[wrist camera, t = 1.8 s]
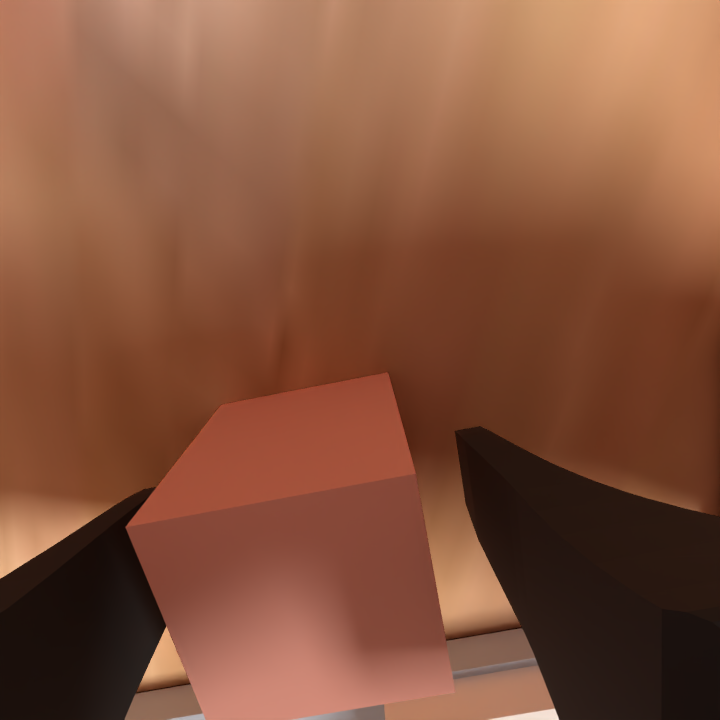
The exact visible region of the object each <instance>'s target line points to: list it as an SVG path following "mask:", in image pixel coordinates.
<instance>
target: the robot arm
mask: <svg viewBox="0 0 720 720" xmlns="http://www.w3.org/2000/svg"><path fill="white" fill-rule="evenodd" d="M455 434H456V441H457V448H458V454H459V461H460V468H461V475H462V482H463V488H464V495H465V502H466V506H467V508H468V511H469V514H470V517H471V520H472V523H473V526H474V529H475V531H476V534H477V537H478V540H479V542H480V544H481V546H482V548H483V550H484V552H485V554H486V556H487V558H488V560H489V562H490V564H491V566H492V568H493V570H494V572H495V574H496V576H497V578H498V580H499V582H500V584H501V586H502V589H503V591H504V593H505V595H506V597H507V599H508V601H509V603H510V605H511V607H512V609H513V611H514V613H515V615H516V617H517V619H518V621H519V623H520V625H521V627H522V629H523V631H524V633H525V635H526V638H527V640H528V642H529V644H530V647H531V649H532V651H533V653H534V656H535V659H536V661H537V664H538V666H539V669H540V671H541V674H542V677H543V679H544V682H545V684H546V687H547V689H548V692H549V694H550V697H551V700H552V702H553V705H554V707H555V710H556V713H557V715H558V718H559V720H720V517H719V516H714V515H710V514H705V513H701V512H696V511H692V510H688V509H684V508H680V507H677V506H673V505H669V504H665V503H662V502H658V501H654V500H650V499H647V498H643V497H640V496H637V495H633V494H630V493H627V492H624V491H621V490H618V489H615V488H613V487H610V486H607V485H604V484H601V483H598V482H595V481H593V480H590V479H587V478H585V477H582V476H580V475H577V474H575V473H573V472H570V471H568V470H566V469H564V468H561V467H559V466H557V465H554V464H552V463H550V462H548V461H546V460H544V459H542V458H540V457H538V456H536V455H534V454H532V453H530V452H528V451H526V450H524V449H522V448H520V447H518V446H516V445H514V444H513V443H511V442H509V441H507V440H505V439H503V438H502V437H500V436H498V435H496V434H494V433H493V432H491V431H489V430H487V429H485V428H483V427H481V426H479V427H474V428H468V429H463V430H458V431H455ZM155 489H156V487H154V488H149V489H144V490H142V491H140V492H138V493H136V494H134V495H132V496H130V497H128V498H127V499H125V500H123V501H122V502H120V503H118V504H117V505H115V506H113V507H112V508H110V509H109V510H107V511H106V512H104V513H103V514H101V515H99V516H98V517H96V518H95V519H93V520H92V521H90V522H89V523H87V524H86V525H84V526H83V527H81V528H80V529H78V530H77V531H75V532H74V533H72V534H71V535H69V536H67V537H66V538H64V539H63V540H61V541H60V542H58V543H57V544H55V545H54V546H52V547H50V548H49V549H47V550H46V551H44V552H43V553H41V554H39V555H38V556H36V557H35V558H33V559H31V560H30V561H28V562H27V563H25V564H23V565H22V566H20V567H19V568H17V569H15V570H14V571H12V572H11V573H9V574H7V575H6V576H4V577H3V578H1V579H0V720H125V717H126V715H127V712H128V710H129V708H130V705H131V703H132V700H133V698H134V695H135V693H136V691H137V689H138V687H139V684H140V682H141V680H142V678H143V676H144V674H145V671H146V669H147V667H148V665H149V663H150V660H151V658H152V656H153V654H154V652H155V649H156V647H157V645H158V643H159V641H160V639H161V636H162V634H163V632H164V630H165V628H166V623H165V621H164V619H163V616H162V614H161V611H160V609H159V607H158V604H157V602H156V599H155V597H154V595H153V592H152V590H151V587H150V585H149V583H148V580H147V578H146V575H145V573H144V571H143V568H142V566H141V563H140V561H139V559H138V556H137V554H136V551H135V549H134V547H133V544H132V542H131V539H130V537H129V535H128V532H127V530H126V526H127V525H128V523H129V522H130V521H131V519H132V518H133V517H134V516H135V514H136V513H137V512H138V510H139V509H140V508H141V507H142V505H143V504H144V503H145V501H146V500H147V499H148V498H149V496H150V495H151V494H152V493H153V491H154V490H155Z"/></svg>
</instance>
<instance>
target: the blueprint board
mask: <svg viewBox="0 0 720 720" xmlns="http://www.w3.org/2000/svg"><path fill="white" fill-rule="evenodd" d="M446 643H447V648H448V654H449V659H450V665H451V670H452V676H453V681H454V687H455V693H449V694H443V695H437V696H431V697H425V698H419V699H413V700H407V701H401V702H395V703H389V704H383V705H377V706H370V707H364V708H358V709H352V710H346V711H340V712H334V713H328V714H322V715H316V716H310V717H304V718H298V719H292V720H559V718H558V715H557V713H556V710H555V707H554V705H553V702H552V700H551V697H550V694H549V692H548V689H547V687H546V684H545V682H544V679H543V677H542V674H541V671H540V669H539V666H538V664H537V661H536V659H535V656H534V653H533V651H532V649H531V647H530V644H529V642H528V640H527V638H526V635H525V633H524V631H523V629H522V628H519V629H513V630H507V631H501V632H495V633H490V634H484V635H478V636H472V637H466V638H460V639H454V640H448V641H446ZM125 720H206V719H205V717H204V715H203V712H202V710H201V707H200V705H199V703H198V700H197V698H196V695H195V693H194V691H193V688H192V686H191V684H189V685H183V686H177V687H172V688H166V689H160V690H154V691H148V692H142V693H136V694H135V695H134V698H133V700H132V703H131V705H130V708H129V710H128V712H127V715H126V717H125Z"/></svg>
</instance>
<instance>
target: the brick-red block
mask: <svg viewBox="0 0 720 720" xmlns="http://www.w3.org/2000/svg"><path fill="white" fill-rule="evenodd" d="M126 530H127V532H128V535H129V537H130V539H131V542H132V544H133V547H134V549H135V551H136V554H137V556H138V559H139V561H140V563H141V566H142V568H143V571H144V573H145V575H146V578H147V580H148V583H149V585H150V587H151V590H152V592H153V595H154V597H155V599H156V602H157V604H158V607H159V609H160V611H161V614H162V616H163V619H164V621H165V623H166V626H167V628H168V631H169V633H170V635H171V638H172V640H173V643H174V645H175V647H176V650H177V652H178V655H179V657H180V659H181V662H182V664H183V667H184V669H185V671H186V674H187V676H188V679H189V681H190V683H191V686H192V688H193V691H194V693H195V695H196V698H197V700H198V703H199V705H200V707H201V710H202V712H203V715H204V717H205V719H206V720H292V719H298V718H304V717H310V716H316V715H322V714H328V713H334V712H340V711H346V710H352V709H358V708H364V707H370V706H377V705H383V704H389V703H395V702H401V701H407V700H413V699H419V698H425V697H431V696H437V695H443V694H449V693H455V687H454V681H453V676H452V670H451V665H450V659H449V654H448V648H447V643H446V637H445V632H444V626H443V621H442V615H441V610H440V604H439V599H438V593H437V588H436V582H435V577H434V571H433V565H432V560H431V554H430V549H429V543H428V538H427V532H426V527H425V521H424V516H423V510H422V505H421V499H420V494H419V488H418V483H417V477H416V472H415V469H414V465H413V461H412V458H411V454H410V450H409V447H408V443H407V439H406V436H405V432H404V428H403V425H402V421H401V417H400V414H399V410H398V407H397V403H396V399H395V396H394V392H393V388H392V385H391V381H390V377H389V374H388V372H387V373H382V374H377V375H371V376H366V377H361V378H356V379H351V380H346V381H340V382H335V383H330V384H325V385H320V386H315V387H309V388H304V389H299V390H294V391H289V392H284V393H278V394H273V395H268V396H263V397H258V398H253V399H247V400H242V401H237V402H232V403H227V404H222V405H220V407H219V408H218V409H217V411H216V412H215V413H214V414H213V416H212V417H211V418H210V419H209V421H208V422H207V423H206V425H205V426H204V427H203V428H202V430H201V431H200V432H199V434H198V435H197V436H196V437H195V439H194V440H193V441H192V443H191V444H190V445H189V446H188V448H187V449H186V450H185V452H184V453H183V454H182V455H181V457H180V458H179V459H178V460H177V462H176V463H175V464H174V466H173V467H172V468H171V469H170V471H169V472H168V473H167V475H166V476H165V477H164V478H163V480H162V481H161V482H160V484H159V485H158V486H157V487H156V489H155V490H154V491H153V493H152V494H151V495H150V496H149V498H148V499H147V500H146V501H145V503H144V504H143V505H142V507H141V508H140V509H139V510H138V512H137V513H136V514H135V516H134V517H133V518H132V519H131V521H130V522H129V523H128V525H127V526H126Z"/></svg>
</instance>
